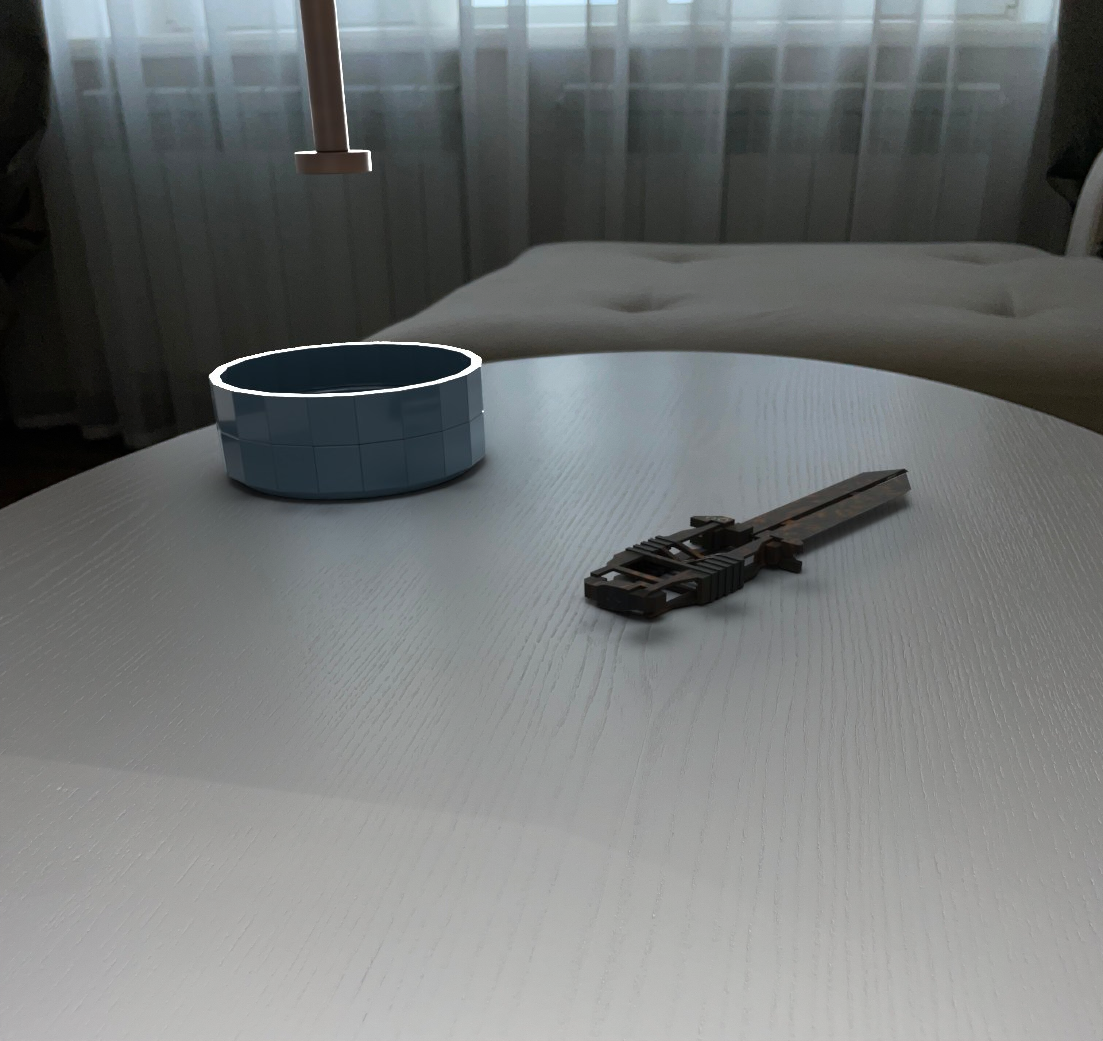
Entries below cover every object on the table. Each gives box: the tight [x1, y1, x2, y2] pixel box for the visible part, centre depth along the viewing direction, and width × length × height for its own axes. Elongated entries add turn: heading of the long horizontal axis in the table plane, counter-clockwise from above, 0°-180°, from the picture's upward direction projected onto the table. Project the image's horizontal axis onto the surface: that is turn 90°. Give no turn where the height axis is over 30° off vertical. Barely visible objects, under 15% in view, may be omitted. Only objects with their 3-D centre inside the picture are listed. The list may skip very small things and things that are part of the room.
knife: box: [583, 468, 912, 619], centre depth 57 cm, size 25×6×1 cm, turn 130°
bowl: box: [208, 341, 487, 500], centre depth 71 cm, size 16×16×6 cm
